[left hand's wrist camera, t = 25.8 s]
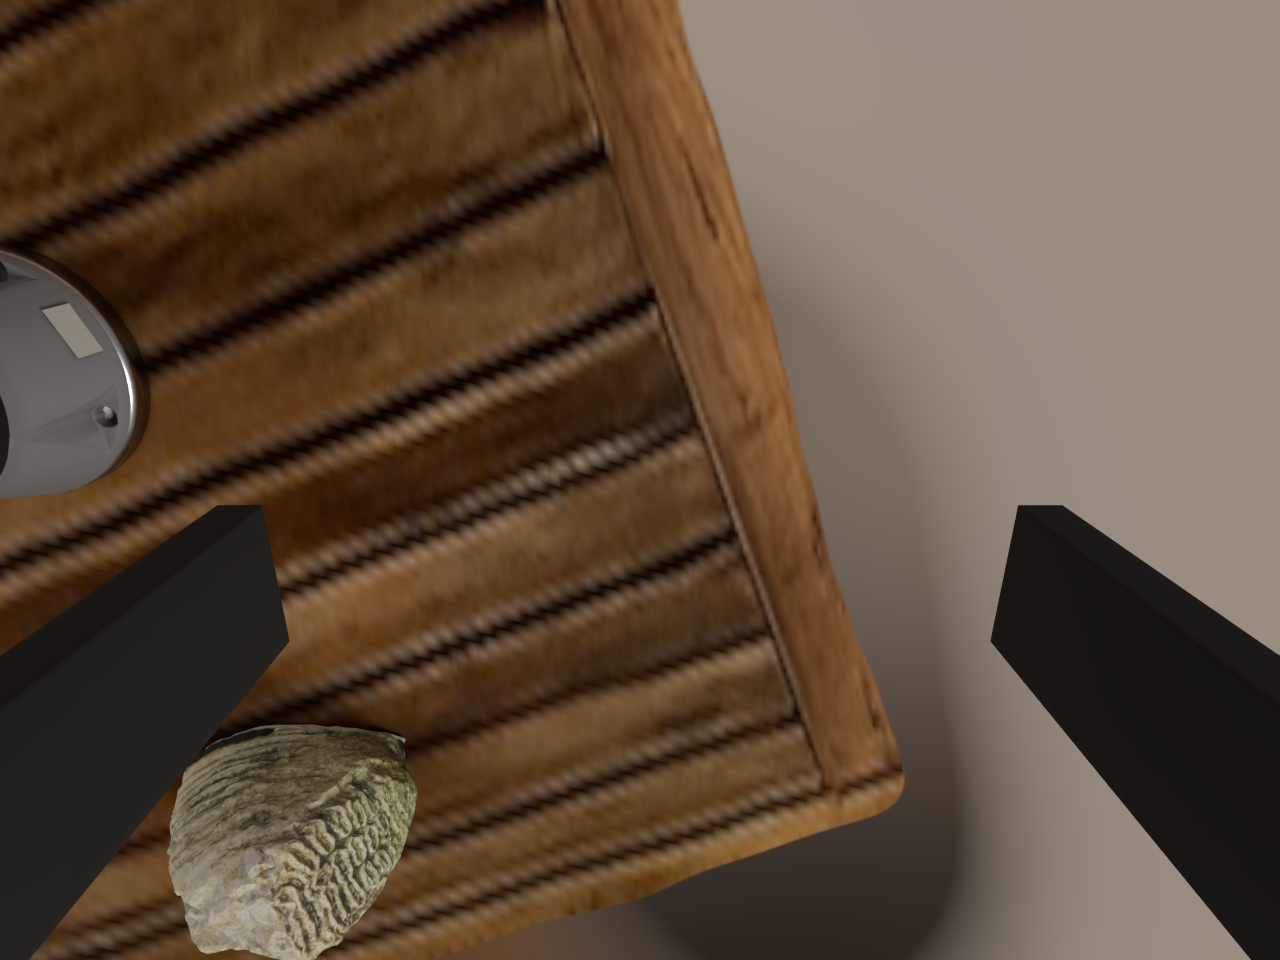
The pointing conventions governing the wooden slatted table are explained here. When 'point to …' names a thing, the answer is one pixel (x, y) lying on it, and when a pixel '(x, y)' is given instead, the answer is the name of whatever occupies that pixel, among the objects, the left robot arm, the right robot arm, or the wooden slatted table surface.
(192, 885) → the fossil
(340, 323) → the wooden slatted table surface
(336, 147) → the wooden slatted table surface
